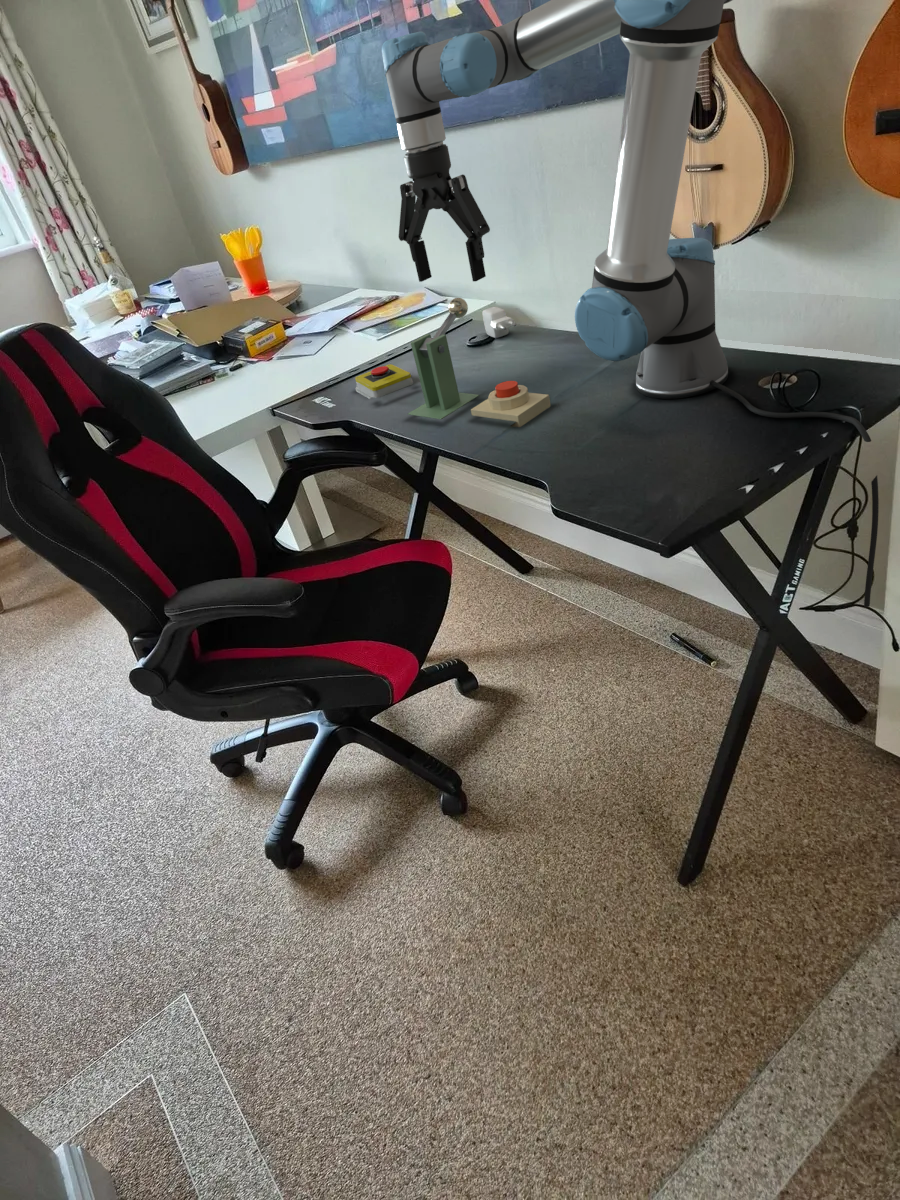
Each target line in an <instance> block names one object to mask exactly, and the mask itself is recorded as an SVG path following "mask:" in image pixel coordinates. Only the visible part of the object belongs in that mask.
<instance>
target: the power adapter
mask: <svg viewBox="0 0 900 1200" xmlns="http://www.w3.org/2000/svg"><path fill="white" fill-rule="evenodd" d="M481 315H482V319H483V324H484V329H485V333H486V335H487V336H490V337H492V338H495V339H498V338H502V337H503V336H504V337H505V336H506V335H508V334H509V331H510V329H509V328H510V327H517V323H516V322H515V319H513V318H512V317H510V316H507V313H506V311H505V309H504V308H502V307H500V306H491V307H488V308H486V309H484V310H482V314H481Z"/></svg>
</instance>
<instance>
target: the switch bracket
mask: <svg viewBox="0 0 900 1200" xmlns="http://www.w3.org/2000/svg"><path fill="white" fill-rule="evenodd" d="M427 338H432V335H431V334H430V333H426V334H424V335H422V336H420V337H418V338H416V339H415V340H412V341H411V342H410V346H411V351H412V355H413V358H414V362H415V367H416V371H417V375H418V379H419V382H420V387H421V390H422V395H423V399H424V403H423V404H421V405H419V406H418V407H417V408H414V409H413V410H411V411H409V412H408V413H407V415H408V416H414V417H415V416H417V417H423V418H429V419H435V420H442V419H444V418H446V417H447V416H449V415H451V414H452V413H454V412H456V411H458V409H460V408H461V407H463V406H465V405H467V404H469V402H471V401H473V400H474V399H476V398H478V397H479V396H480V394H475V393H467V392H459V388H458V384H457V379H456V374H455V370H454V366H453V365H454V364H453V361H452V356H451V352H450V348H449V347H450V346H449V343H448V339H447V334H445V335H441V336H439V337H437V338H435V339H433V340H431V341H430V342H428V343H426V346H427V350H428V355H429V359H426V358H425V357H424V355H423V354H422V352H421V351H420V350H419V349H420V347H421V346H422V344H423V343H424V341H425V340H426V339H427Z"/></svg>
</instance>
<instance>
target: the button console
mask: <svg viewBox="0 0 900 1200" xmlns="http://www.w3.org/2000/svg"><path fill="white" fill-rule="evenodd" d="M518 388H519V393H518V394H517V395H514V396H511V397H507V398H497V394H496V389H494V390H493V391H491V392H489V394H488V396H487V397H488V398H487V399H485V400H483V401H482V402H480V403H479V404H477V405H476V406H474V407H472V408H471V409H470V414H471V416H474V417H480V418H487V419H488V418H489V419H494V420H503V421H508V422H514V423H512V424H511V425H510V427H513V428H521V427H523V426H524V425H525V424H527V423H528V422H530V421H532V420H533V419H535V418H536V417H537V416H539V415H540V414H542V413H544V411H546V410H547V409H549V408H550V407H551V406H552V405H551V398H550V394H547V393H546V394H544V393H536V392H529V389H528V387H527V386H525V385H523V384H518Z"/></svg>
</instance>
